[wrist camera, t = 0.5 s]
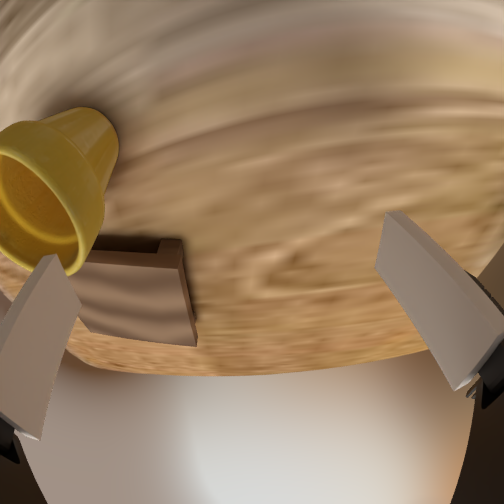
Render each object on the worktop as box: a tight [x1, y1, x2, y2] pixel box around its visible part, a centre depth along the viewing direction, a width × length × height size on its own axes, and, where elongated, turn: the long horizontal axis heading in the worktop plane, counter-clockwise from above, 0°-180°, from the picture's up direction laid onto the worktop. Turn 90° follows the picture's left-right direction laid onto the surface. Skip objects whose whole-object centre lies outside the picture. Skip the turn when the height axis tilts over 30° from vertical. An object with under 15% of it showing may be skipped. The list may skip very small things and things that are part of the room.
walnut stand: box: [67, 239, 198, 347], centre depth 30 cm, size 16×16×4 cm
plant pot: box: [0, 107, 119, 276], centre depth 15 cm, size 10×10×10 cm
